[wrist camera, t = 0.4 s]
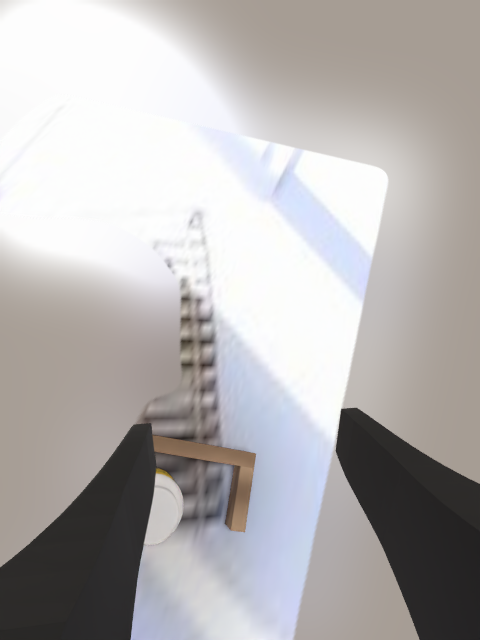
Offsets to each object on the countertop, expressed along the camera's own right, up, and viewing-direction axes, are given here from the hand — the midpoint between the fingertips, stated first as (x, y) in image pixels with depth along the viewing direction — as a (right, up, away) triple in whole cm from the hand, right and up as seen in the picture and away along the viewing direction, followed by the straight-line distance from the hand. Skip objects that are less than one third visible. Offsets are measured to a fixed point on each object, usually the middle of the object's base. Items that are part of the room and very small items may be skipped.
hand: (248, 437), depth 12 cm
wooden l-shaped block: (-6, -13, +24) cm, 27 cm away
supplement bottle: (-10, -14, +22) cm, 28 cm away
